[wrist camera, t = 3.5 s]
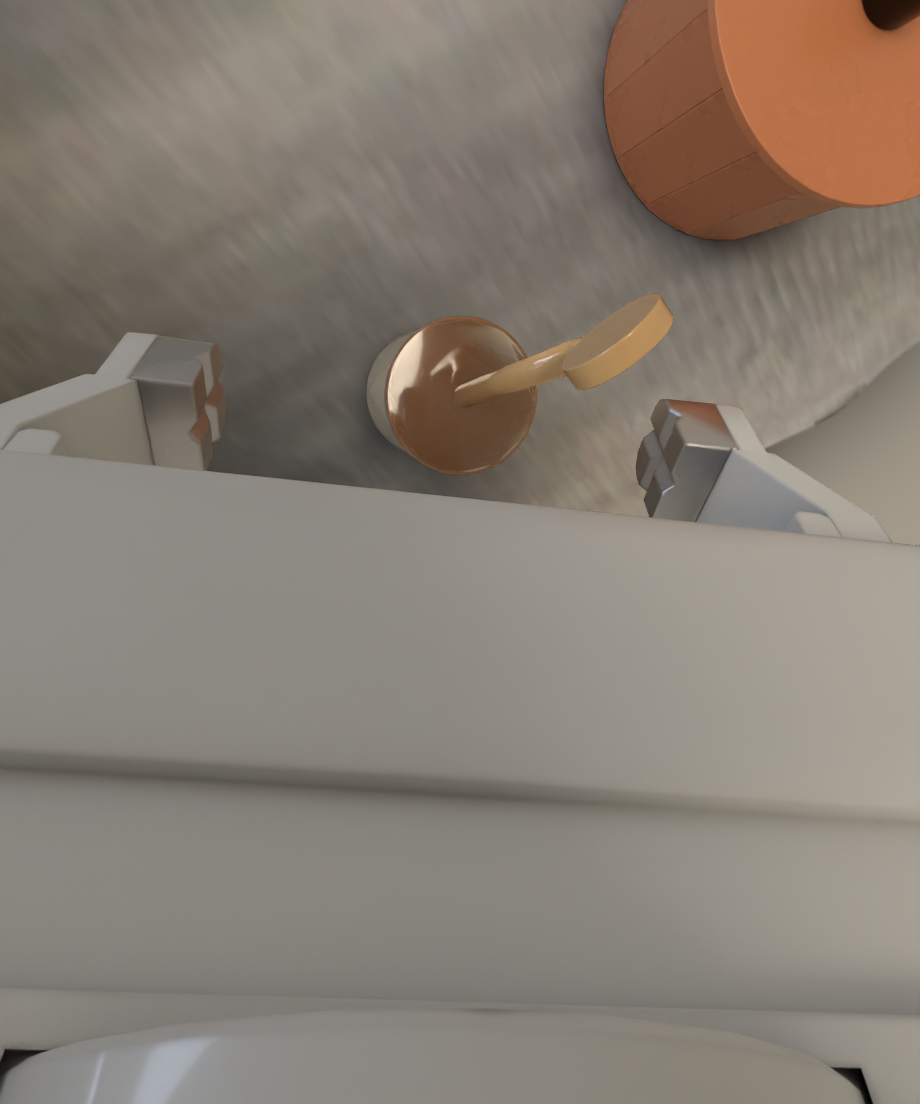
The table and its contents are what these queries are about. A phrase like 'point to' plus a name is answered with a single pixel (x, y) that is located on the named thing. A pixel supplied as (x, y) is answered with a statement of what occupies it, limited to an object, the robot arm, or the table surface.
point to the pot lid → (826, 92)
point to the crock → (492, 382)
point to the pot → (687, 129)
